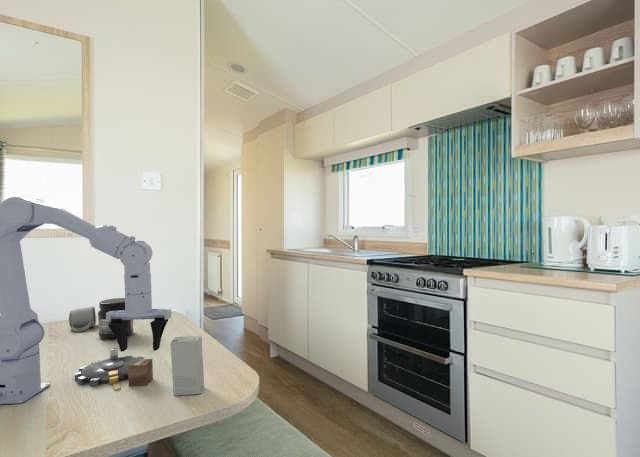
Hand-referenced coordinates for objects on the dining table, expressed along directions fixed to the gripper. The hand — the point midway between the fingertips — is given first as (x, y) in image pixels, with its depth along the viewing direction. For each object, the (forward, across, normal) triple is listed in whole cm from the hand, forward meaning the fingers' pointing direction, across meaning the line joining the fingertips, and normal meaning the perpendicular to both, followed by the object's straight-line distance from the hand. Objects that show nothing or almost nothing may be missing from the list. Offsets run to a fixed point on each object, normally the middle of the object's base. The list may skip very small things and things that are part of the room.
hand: (140, 349), depth 93 cm
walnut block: (+8, 0, 0) cm, 8 cm away
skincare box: (+8, -13, +6) cm, 16 cm away
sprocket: (+8, +10, -7) cm, 15 cm away
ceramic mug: (+8, +42, -51) cm, 67 cm away
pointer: (+8, +5, +2) cm, 9 cm away
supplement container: (+8, +25, -40) cm, 48 cm away
